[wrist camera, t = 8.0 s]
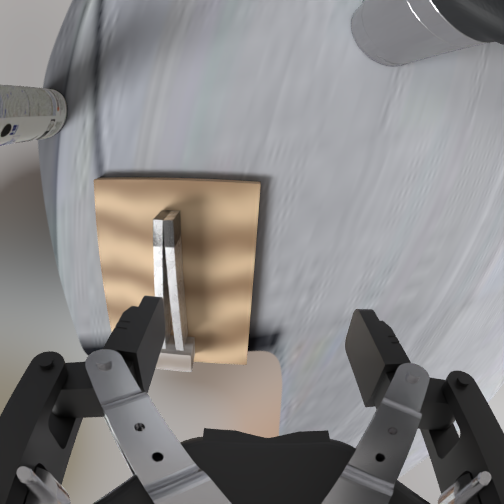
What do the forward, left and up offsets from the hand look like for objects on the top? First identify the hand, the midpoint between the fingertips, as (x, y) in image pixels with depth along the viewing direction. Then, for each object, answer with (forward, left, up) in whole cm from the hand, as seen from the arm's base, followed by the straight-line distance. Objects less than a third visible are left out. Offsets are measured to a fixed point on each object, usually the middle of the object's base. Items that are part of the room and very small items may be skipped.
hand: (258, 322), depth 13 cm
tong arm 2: (+11, -8, -25) cm, 28 cm away
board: (+12, -9, -26) cm, 30 cm away
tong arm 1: (+11, -10, -25) cm, 28 cm away
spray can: (-10, -27, -26) cm, 39 cm away
